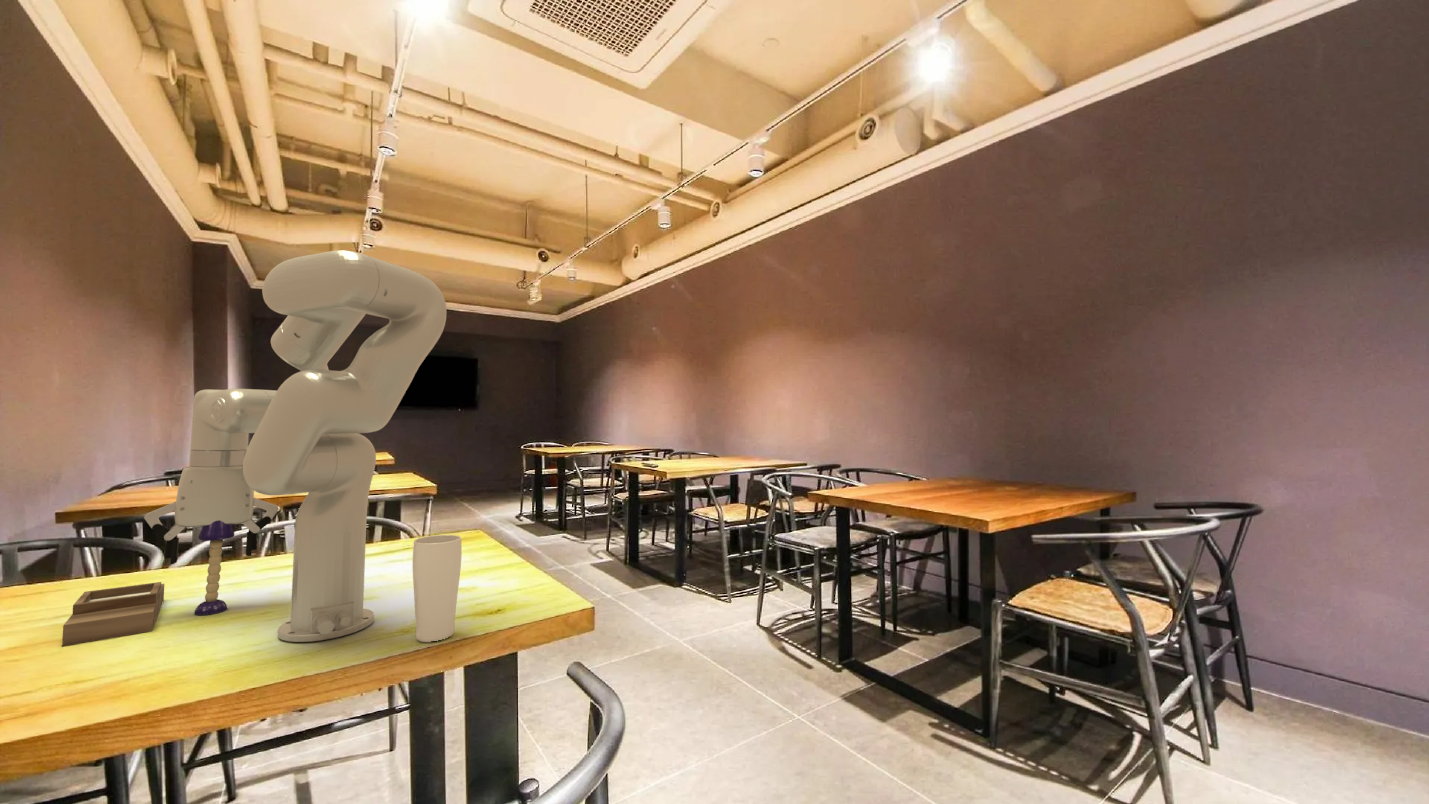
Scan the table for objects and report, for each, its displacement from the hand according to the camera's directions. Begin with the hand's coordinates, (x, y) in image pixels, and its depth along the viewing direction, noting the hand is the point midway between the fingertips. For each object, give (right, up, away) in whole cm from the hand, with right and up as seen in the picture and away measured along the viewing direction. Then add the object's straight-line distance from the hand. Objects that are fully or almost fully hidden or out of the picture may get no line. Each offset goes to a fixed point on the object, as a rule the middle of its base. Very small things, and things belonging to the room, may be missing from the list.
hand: (212, 558), depth 96 cm
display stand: (-11, -9, -5) cm, 15 cm away
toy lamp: (+1, -9, -1) cm, 9 cm away
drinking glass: (+45, -9, -11) cm, 47 cm away
